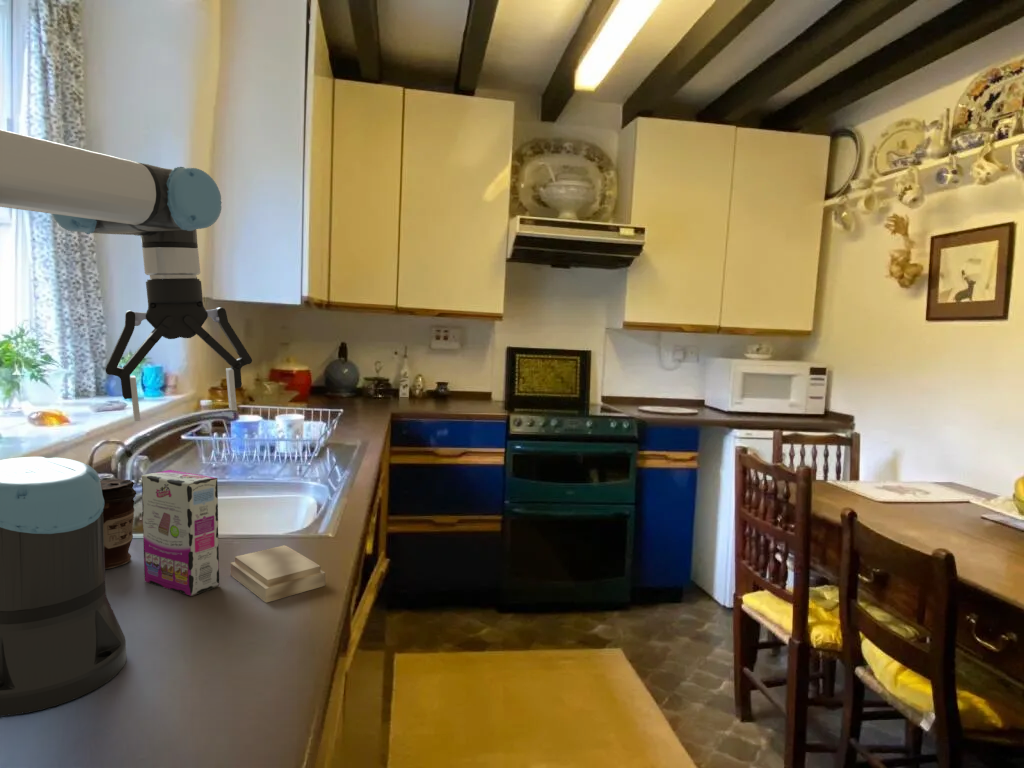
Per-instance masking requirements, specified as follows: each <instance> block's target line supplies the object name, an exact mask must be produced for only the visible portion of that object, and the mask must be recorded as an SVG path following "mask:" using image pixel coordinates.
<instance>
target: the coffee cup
mask: <svg viewBox="0 0 1024 768" xmlns="http://www.w3.org/2000/svg"><path fill="white" fill-rule="evenodd" d="M100 483H101V489H102V494H103V498H104V508H103V526H104V557H105V570H106V569H107V570H109V569H113V568H117V567H119V566H122V565H125V564H127V563H129V562H130V561H131V559H132V555H131V554H130V553H129V550H130V547H131V544H132V541H133V537H134V536H133V535H134V534H133V532H134V520H135V519H134V517H135V515H134V513H135V508H134V504H135V499H134V498H135V497H136V495H137V491H136V490H135V489H134V488H133V487H134V485H135V482H134V481H133V480H131V479H120V478H112V479H104V480H100Z"/></svg>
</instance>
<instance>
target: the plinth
mask: <svg viewBox="0 0 1024 768" xmlns="http://www.w3.org/2000/svg"><path fill="white" fill-rule="evenodd" d="M229 564H230V577H232V578H234V579H235V580H236V581H238V583H240V584H241V585H243V587H245V588H246V589H247V590H249V591H250V592H251V593H253V595H255V596H256V597H258V598H259V599H260V600H261V601H263V602H264V603H271V602H273V601H277V600H280V599H284V598H288V597H291V596H294V595H298V594H301V593H304V592H308V591H311V590H315V589H318V588H322V587H325V586H326V572H325V571H323V570H322V569H321V565H319V564H318V563H316V562H314V560H311V559H310V558H308V557H306V556H304V555H303V554H302V553H299V552H298V551H296V550H295V549H292V548H291V547H289V546H287V545H286V544H285V545H284V544H283V545H280V546H275V547H271V548H267V549H263V550H258V551H252V552H249V553H245V554H241V555H237V556H234V561H233V562H230V563H229Z"/></svg>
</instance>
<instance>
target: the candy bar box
mask: <svg viewBox="0 0 1024 768" xmlns="http://www.w3.org/2000/svg"><path fill="white" fill-rule="evenodd" d="M218 493H219V491H218V477H213V476H208V475H203V474H196V473H192V472H191V473H190V472H186V471H185V472H184V471H181V470H180V471H179V470H172V469H167V470H160V471H155V472H152V473H146V474H142V475H141V496H142V498H141V499H142V505H141V506H142V529H143V530H142V537H143V565H144V566H143V570H144V573H143V574H144V582H146V583H148V584H151V585H154V586H157V587H160V588H163V587H164V588H163V589H167V590H170V591H173V592H177V593H180V594H184V595H187V596H189V597H193V596H196V595H198V594H201V593H203V592H206V591H209V590H212V589H215V588H217V587H219V586H220V564H219V563H220V562H219V561H220V559H219V557H220V556H219V555H220V554H219V553H220V552H219V549H220V548H219V541H220V540H219V500H218V496H219V495H218Z"/></svg>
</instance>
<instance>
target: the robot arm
mask: <svg viewBox="0 0 1024 768" xmlns="http://www.w3.org/2000/svg"><path fill="white" fill-rule="evenodd" d="M219 189H220V188H219V187H218V185H217V182H216V181H215V180H214V179H213V178H212V177H211V175H210V174H209V173H207V172H205V171H204V170H202V169H199V168H196V167H184V166H176V167H174V168H166V167H161V166H158V165H157V166H155V165H153V164H148V163H141V162H137V161H135V160H130V159H125V158H122V157H117V156H113V155H110V154H105V153H101V152H96V151H91V150H88V149H84V148H80V147H76V146H72V145H67V144H64V143H58V142H55V141H51V140H46V139H43V138H37V137H33V136H29V135H26V134H22V133H21V134H20V133H17V132H13V131H8V130H5V129H1V128H0V208H5V209H6V208H7V209H12V210H13V209H14V210H23V211H30V212H36V213H45V214H51V216H52V218H53V219H54V221H55V222H56V223H57V225H59V227H61V228H63V229H64V230H66V231H70V232H77V233H85V234H86V235H91V234H101V235H102V234H104V235H129V236H136V237H137V236H140V240H141V241H140V242H141V248H142V259H143V266H144V267H143V269H144V274H145V275H146V276H149V279H147V280H146V281H145V286H146V297H147V310H146V312H143V311H133V310H130V309H129V310H126V311H125V313H124V327H123V329H122V331H121V333H120V335H119V337H118V340H117V342H116V344H115V346H114V348H113V350H112V353H111V355H110V357H109V359H108V361H107V364H106V366H105V370H104V371H105V373H106V375H109V376H115V377H118V378H119V379H120V385H121V395H122V398H123V399H124V400H129V399H130V400H131V403H132V404H131V405H132V413H133V414H132V415H133V420H134V422H138V421H139V422H140V421H141V412H140V402H139V396H138V395H139V394H138V387H137V377H136V375H131V374H132V373H133V372H135V371H134V370H136V368H137V367H138V366H139V365H140V364H141V362H142V361H143V360H144V359H145V357H146V356H147V355H148V354H149V352H151V350H152V349H153V348H154V346H155V345H156V344H157V343H158V342H159V341H160V340H161V338H162V337H163V338H165V339H168V340H175V339H178V338H182V339H192V338H193V337H195V336H196V335H197V337H198V338H200V339H201V340H202V341H203V342H204V343H205V344H206V345H208V346H209V347H210V348H211V350H213V351H214V352H215V353H216V354H218V356H220V357H221V358H222V359H223V361H225V362H226V363H227V364H228V365H229V366H230V367H228V368H227V367H226V368H225V377H226V386H227V387H226V388H227V389H226V390H227V398H228V408H229V409H230V410H231V411H237V410H238V409H237V408H238V407H237V406H238V405H237V396H236V389H241V388H242V371H241V370H242V368H243V367H245V366H247V365H250V364H252V362H253V359H252V357H251V355H250V354H249V352H248V351H247V349H246V347H245V346H244V344H243V343H242V341H241V340H240V338H239V336H238V335H237V333H236V331H235V330H234V329H233V327H232V325H231V324H230V322H229V320H228V315H227V310H226V309H225V308H224V307H221V306H220V307H219V306H218V307H216V308H214V309H206V308H205V305H204V299H203V287H202V280H200V278H198V276H197V275H200V274H201V265H200V255H199V248H198V235H197V234H198V233H197V230H201V229H206V228H210V227H211V226H213V225H214V224H215V223H216V222H217V221H218V219H219V217H220V215H221V212H222V206H223V205H222V203H223V202H222V195H221V191H220V190H219ZM208 318H211V320H212V321H213V322H215V323H218V325H219V327H220V329H221V330H222V331H223V333H224V334H225V337H226V339H228V341H229V343H230V344H231V345H232V347H233V349H234V350H235V352H236V353H237V355H238V358H236V357H234V356H233V355H232V354H231V353H230V352H229V351H228V350H227V349H226V348H224V347H223V345H221V344H220V343H219V342H218V341H217V340H216V339H215V338H214V337H213V336H212V335H211V334H209V332H208V331H207V330H206V329H205V328H203V327H202V326H203V325H204V324H205V322H206V321H207V319H208ZM144 320H146V321H147V322H148V323H149V324H150V325H151V326H152V328H153V329H152V331H151V332H150V333H149V334H148V336H147V337H146V339H144V340H143V342H142V343H141V345H140V346H139V347H138V348H137V349H136V350H135V352H133V354H132V355H131V356H130V358H129V359H128V360H127V361H126V363H125V364H124V365H123V366H122V367H120V366H119V365H120V362H121V360H122V358H123V356H124V352H126V349H127V346H128V345H129V342H130V340H131V338H132V336H133V333H134V330H135V327H137V326H140V325H141V324H142V321H144ZM100 481H101V479H100V476H99V473H98V472H97V470H96V469H94V468H93V467H92V466H91V465H89V464H86V463H84V462H82V461H79V460H75V459H71V458H64V457H57V456H56V457H45V456H22V457H21V456H20V457H12V458H6V459H0V717H3V716H4V717H5V716H14V715H21V714H27V713H32V712H38V711H40V710H45V709H49V708H51V707H52V708H53V707H56V706H59V705H62V704H65V703H67V702H71V701H73V700H75V699H78V698H80V697H82V696H84V695H87V694H88V693H91V692H92V691H94V690H97V689H99V688H101V686H104V684H106V683H108V682H109V681H110V680H112V679H113V678H114V677H116V676H117V675H118V674H119V672H120V671H121V670H122V669H123V668H124V666H125V665H126V662H127V642H126V641H127V640H126V637H125V634H124V632H123V630H122V628H121V626H120V623H119V622H118V619H117V617H116V615H115V613H114V610H113V609H112V608H113V607H111V604H110V602H109V600H108V597H107V591H106V590H107V589H106V569H105V557H104V526H103V508H104V498H103V494H102V489H101V483H100Z"/></svg>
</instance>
